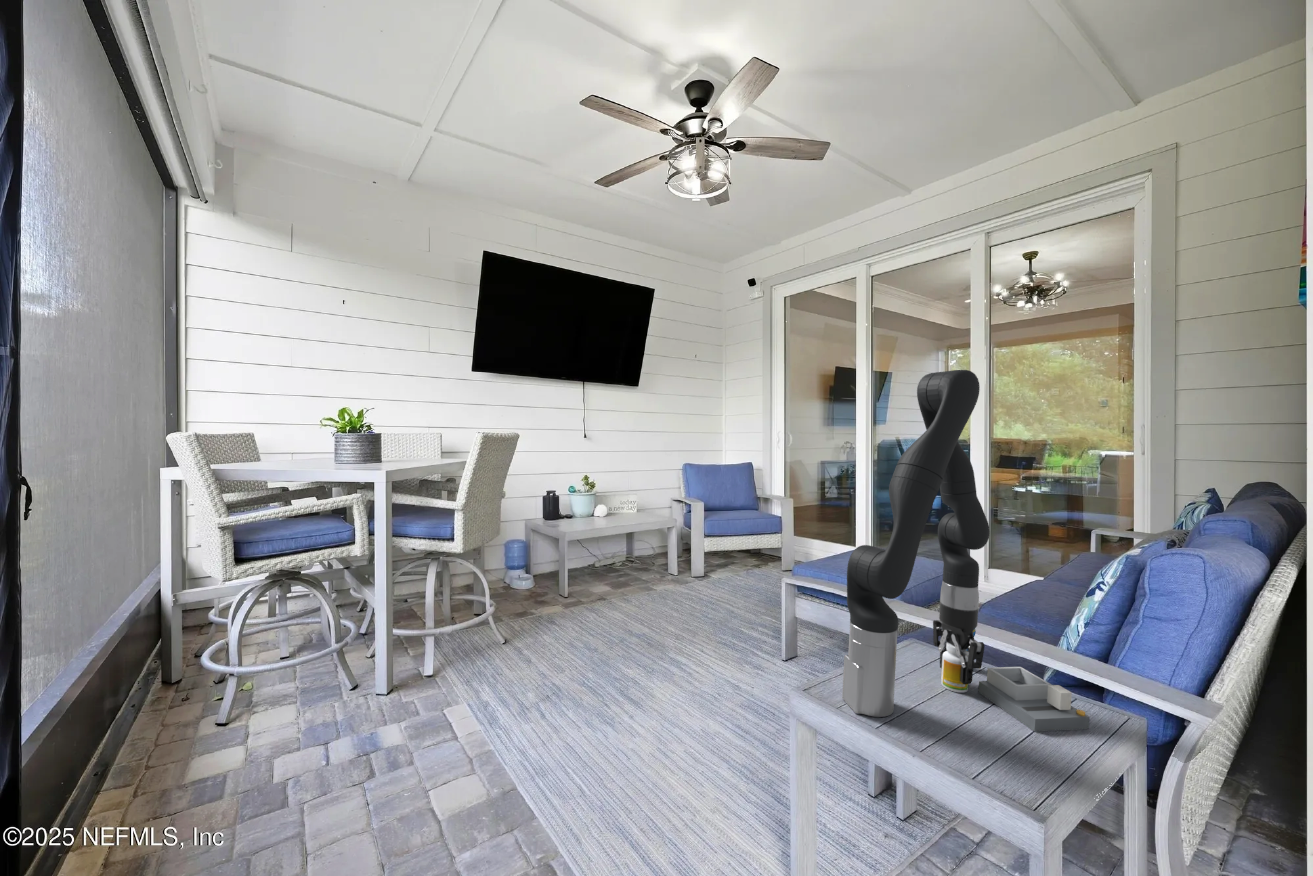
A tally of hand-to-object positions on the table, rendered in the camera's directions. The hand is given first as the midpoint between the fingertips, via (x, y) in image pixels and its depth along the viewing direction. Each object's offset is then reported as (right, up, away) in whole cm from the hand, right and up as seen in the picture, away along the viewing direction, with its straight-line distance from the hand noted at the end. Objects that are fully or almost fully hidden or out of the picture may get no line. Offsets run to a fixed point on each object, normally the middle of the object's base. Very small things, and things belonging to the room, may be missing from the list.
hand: (955, 675), depth 121 cm
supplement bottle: (0, -3, 0) cm, 3 cm away
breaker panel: (+11, -3, -8) cm, 14 cm away
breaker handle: (+14, -1, -12) cm, 19 cm away
